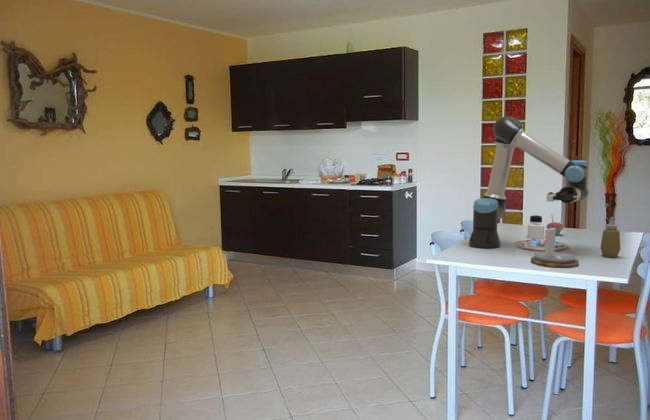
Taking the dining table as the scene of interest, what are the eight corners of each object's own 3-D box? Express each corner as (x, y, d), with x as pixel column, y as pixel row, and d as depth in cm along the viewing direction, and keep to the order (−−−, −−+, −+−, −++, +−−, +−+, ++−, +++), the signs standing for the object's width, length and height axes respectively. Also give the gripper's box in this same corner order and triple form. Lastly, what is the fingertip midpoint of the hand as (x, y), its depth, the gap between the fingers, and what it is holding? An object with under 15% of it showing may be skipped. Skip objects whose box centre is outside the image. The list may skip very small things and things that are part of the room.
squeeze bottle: (597, 256, 252) (599, 217, 250) (603, 253, 258) (605, 215, 255) (616, 259, 246) (618, 218, 244) (622, 256, 252) (624, 217, 250)
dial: (564, 264, 228) (565, 232, 226) (527, 258, 240) (528, 227, 238) (581, 259, 238) (583, 228, 237) (545, 253, 250) (547, 224, 249)
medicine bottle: (543, 238, 298) (544, 216, 297) (529, 238, 300) (530, 216, 298) (541, 236, 305) (541, 214, 304) (527, 236, 307) (528, 214, 305)
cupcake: (547, 235, 307) (548, 214, 306) (545, 233, 315) (546, 212, 314) (564, 236, 305) (565, 214, 304) (561, 233, 313) (562, 212, 312)
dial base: (523, 263, 238) (523, 259, 238) (540, 256, 252) (540, 252, 252) (569, 270, 226) (569, 265, 226) (584, 262, 240) (585, 258, 240)
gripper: (583, 203, 257) (562, 208, 240) (555, 201, 266) (533, 205, 249) (584, 187, 256) (563, 190, 239) (555, 185, 265) (534, 189, 248)
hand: (548, 198), depth 244 cm, fingers closed
